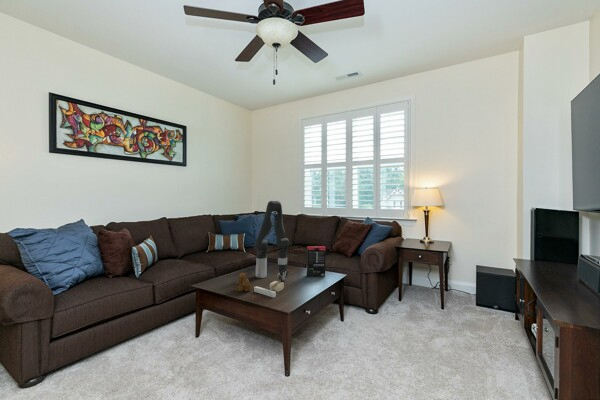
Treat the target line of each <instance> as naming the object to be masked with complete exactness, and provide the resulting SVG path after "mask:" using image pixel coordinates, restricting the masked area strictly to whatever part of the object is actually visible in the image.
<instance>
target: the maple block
mask: <svg viewBox="0 0 600 400" xmlns="http://www.w3.org/2000/svg"><path fill="white" fill-rule="evenodd" d="M283 289H285V282H284V283H283V282H281V281H278V280H274V281H272V282H271V283H269V290H271V291H275V292H280V291H282V290H283Z"/></svg>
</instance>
